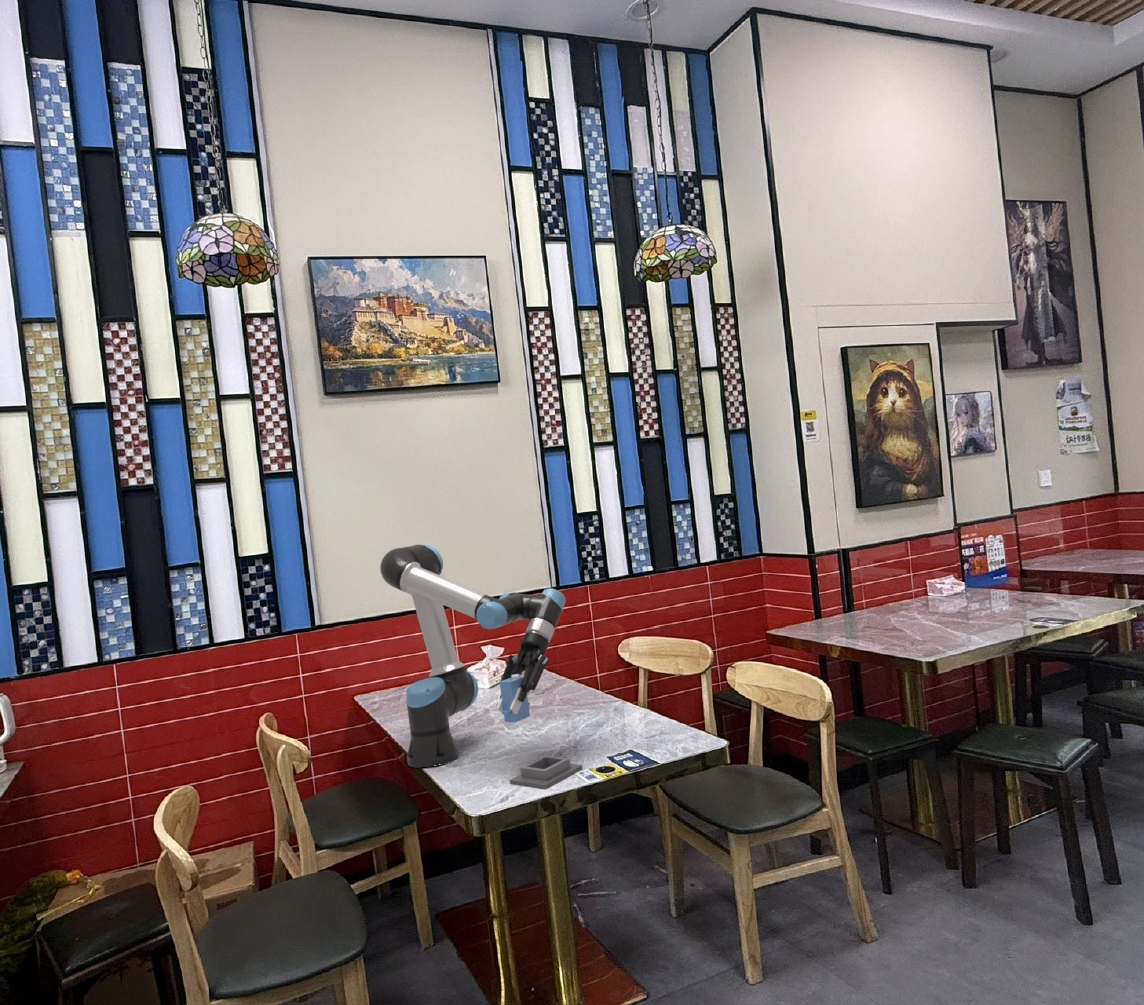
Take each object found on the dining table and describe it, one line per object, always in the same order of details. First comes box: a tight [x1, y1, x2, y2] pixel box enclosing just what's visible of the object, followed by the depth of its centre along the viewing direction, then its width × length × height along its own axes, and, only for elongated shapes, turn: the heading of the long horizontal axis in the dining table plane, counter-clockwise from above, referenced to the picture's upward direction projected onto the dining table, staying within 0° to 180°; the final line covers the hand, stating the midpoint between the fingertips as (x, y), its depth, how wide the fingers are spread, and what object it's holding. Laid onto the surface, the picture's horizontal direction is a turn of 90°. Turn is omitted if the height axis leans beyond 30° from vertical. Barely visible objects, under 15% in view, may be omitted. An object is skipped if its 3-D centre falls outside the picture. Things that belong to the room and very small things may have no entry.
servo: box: [499, 674, 531, 723], centre depth 228 cm, size 10×4×12 cm, turn 143°
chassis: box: [509, 755, 583, 790], centre depth 221 cm, size 16×12×4 cm
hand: (506, 711), depth 225 cm, fingers closed on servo, 4 cm apart
